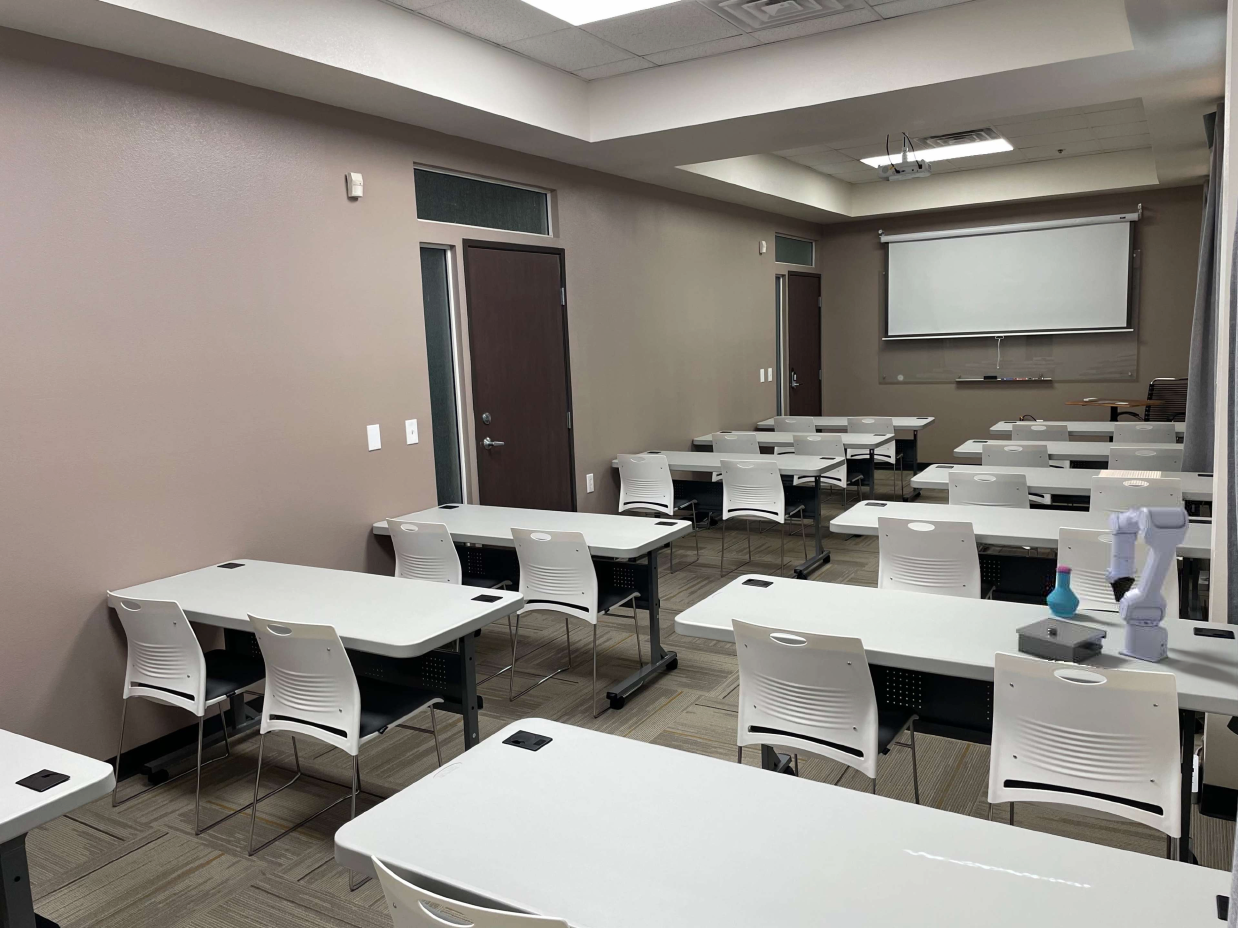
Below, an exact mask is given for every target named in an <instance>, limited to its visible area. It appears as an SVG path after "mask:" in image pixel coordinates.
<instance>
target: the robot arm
mask: <svg viewBox="0 0 1238 928" xmlns="http://www.w3.org/2000/svg"><path fill="white" fill-rule="evenodd" d="M1108 528H1109V532H1110V533H1111V551H1110V553H1111V555H1110V567H1107V568H1106V572H1107V574H1105V579H1104V581H1105V582H1108V583H1109V584H1110V586H1111V589H1112V592H1113V597H1114V601H1115V602H1116V603H1118V613H1119V616H1120V618H1121V619H1122V620H1123V621H1124V622H1125V632H1124V633H1125V634H1124V648H1122V649H1120V650H1117V653H1118V654H1120V655H1124V656H1128V657H1132V658H1137V659H1140V660H1145V661H1148V662H1152V663H1156V662H1158V661H1160V660H1162V659H1164V658H1167V657H1168V656H1169V654H1168V641H1169V639H1168V638H1169V633H1168V632H1169V631H1168V629H1167V628H1166V627H1164V626H1160V624H1161V622H1163V620H1164V619H1165V618H1166V612H1167V611H1166V609H1167V605H1168V603H1167V602H1166V599H1165V597H1164V595H1163V594H1162V593H1161V590H1162V587H1163V585H1164V582H1165V580H1166V577H1167V574H1168V572H1169V570H1170V567H1171V563H1172V562H1173V559H1174V556H1175V554H1176V550H1177V547H1179V545H1181V544H1183V543H1184V540H1185V538H1186V535H1187V534H1188V531H1189V528H1190V522H1189V514H1188V512H1187V510H1186V509H1185V508H1184V507H1183V506H1178V507H1146V506H1144V507H1139V509H1138V508H1137V507H1134V508H1133V507H1132V508H1130V509H1129V510H1128V511H1127V510H1126V511H1123V513H1122V514H1118V513H1117V514H1116V513H1112V514H1111V515H1110V517H1109V519H1108ZM1139 534H1140V535H1141V538H1142V541H1143V543H1144V544H1146V545H1148V546H1150V547H1151V548H1150V551H1149V553H1148V556H1147V559H1146V561H1145V565H1144V567H1143V570H1142V573H1141V576H1140V577H1139V581H1138V584H1137V586H1136V588H1133V589H1131V588H1132V586H1133V584H1134V583H1136V578H1135V577H1133V576H1134V575H1137V574H1138V571H1139V567H1138V566H1135V555H1136V554H1135V552H1136V551H1135V550H1136V542H1137V541H1138V537H1139Z"/></svg>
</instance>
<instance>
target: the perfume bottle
mask: <svg viewBox="0 0 1238 928" xmlns="http://www.w3.org/2000/svg"><path fill="white" fill-rule="evenodd" d="M1055 570H1056V573H1057V580H1056V581H1057V583H1056V587H1055V588H1054V590H1052V592H1051V593H1049V595H1048V596H1047V597H1046V602H1047V605H1048V608H1049V610H1051V611H1050V614H1051V615H1052V616H1054V617H1058V618H1073V617H1075V613H1076V612H1077V609H1078V608H1079V606H1080V602H1081V601H1080V600H1079V598H1078V597H1077V595H1076V594H1075V592H1074V591H1073V590H1072V589H1071V587H1070V586H1071V574H1072V572H1073V570H1072V568H1071V567H1069V566H1064V565H1063V566H1057V567H1056V568H1055Z"/></svg>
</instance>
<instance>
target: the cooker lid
mask: <svg viewBox="0 0 1238 928" xmlns="http://www.w3.org/2000/svg"><path fill="white" fill-rule="evenodd" d="M1107 632H1108V631H1107V630H1104V629H1101V628H1095V627H1091V626H1086V625H1082V624H1079V623H1073V622H1069V621H1065V620H1063V619H1062V620H1061V619H1056V618H1053V617H1052V618H1051V617H1047V618H1044V619H1041V620H1038V621H1035V622H1033V623H1030V624H1026V625H1024V626H1021V627H1019V628H1016V629H1015V633H1016V634H1018V635H1019V634H1023V635H1027V636H1030V637H1034V638H1038V639H1042V640H1046V641H1050V642H1054V643H1058V644H1062V645H1066V646H1070V647H1073V648H1074V647H1076V646H1079V645H1081V644H1084V643H1086V642H1089V641H1091V640H1094V639H1096V638H1099V637H1102V640H1103V639H1107V637H1108V636H1107V635H1108V634H1107Z"/></svg>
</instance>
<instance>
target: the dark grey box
mask: <svg viewBox="0 0 1238 928" xmlns="http://www.w3.org/2000/svg"><path fill="white" fill-rule="evenodd" d="M1102 641H1103V638H1102V637H1099V638H1096V639H1094V640H1091V641H1089V642H1086V643H1084V644H1081V645H1079V646H1076V647H1074V648H1073V647H1070V646H1066V645H1062V644H1058V643H1054V642H1050V641H1046V640H1042V639H1038V638H1034V637H1030V636H1027V635H1023V634H1019V633H1018V640H1017V642H1018V644H1017V652H1019V653H1023V654H1026V655H1030V656H1034V657H1036V658H1037V657H1038V658H1041V659H1045V660H1049V661H1052V660H1055V661H1064V662H1073V663H1078V664H1080V663H1083V662H1085V661H1088V660H1090V659H1093V658H1095V657H1097V656H1099V655H1101V654H1102V650H1103V649H1104V646H1103V644H1102ZM1055 661H1054V662H1055Z"/></svg>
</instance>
